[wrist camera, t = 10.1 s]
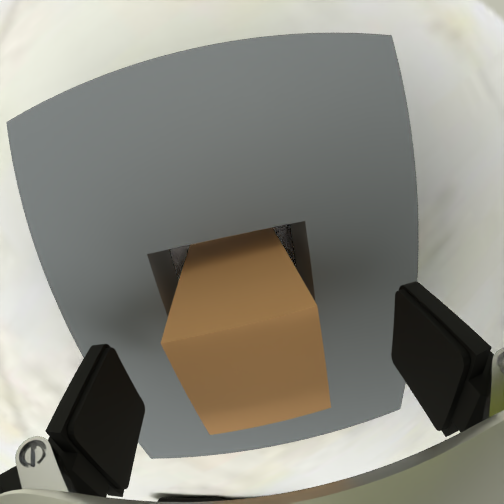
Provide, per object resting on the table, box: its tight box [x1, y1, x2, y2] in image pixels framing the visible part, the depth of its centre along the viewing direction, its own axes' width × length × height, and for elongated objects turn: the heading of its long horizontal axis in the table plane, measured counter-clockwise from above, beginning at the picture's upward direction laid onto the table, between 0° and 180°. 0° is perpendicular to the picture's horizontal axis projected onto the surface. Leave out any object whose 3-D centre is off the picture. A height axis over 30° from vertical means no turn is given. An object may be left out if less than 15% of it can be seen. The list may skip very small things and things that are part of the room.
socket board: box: [7, 33, 418, 459], centre depth 14 cm, size 16×20×4 cm
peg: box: [161, 228, 331, 435], centre depth 12 cm, size 4×4×8 cm
